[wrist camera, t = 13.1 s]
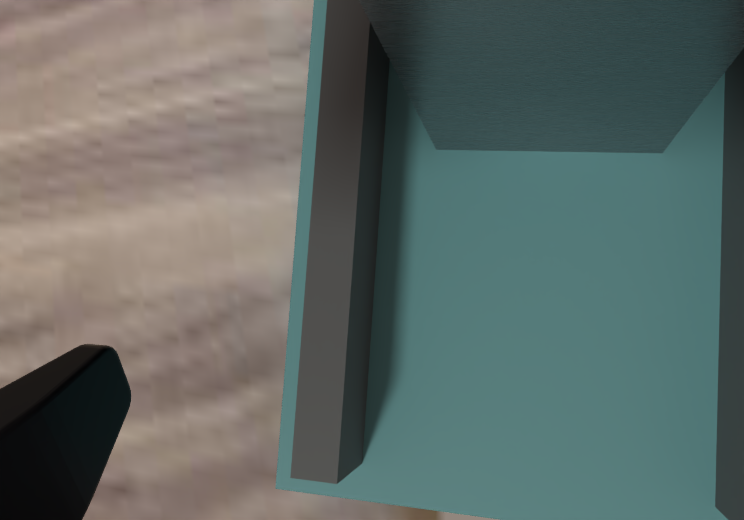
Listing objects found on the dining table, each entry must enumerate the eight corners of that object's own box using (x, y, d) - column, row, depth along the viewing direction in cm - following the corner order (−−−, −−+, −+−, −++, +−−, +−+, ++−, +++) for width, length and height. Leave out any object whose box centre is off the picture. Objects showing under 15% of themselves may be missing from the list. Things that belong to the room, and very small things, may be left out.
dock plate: (804, 544, 17) (914, 631, 12) (293, 477, 20) (220, 524, 15) (811, -114, 19) (911, -270, 14) (336, -77, 22) (281, -192, 17)
